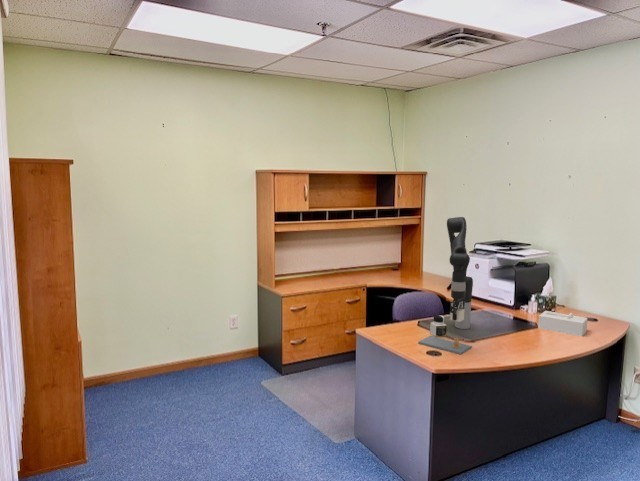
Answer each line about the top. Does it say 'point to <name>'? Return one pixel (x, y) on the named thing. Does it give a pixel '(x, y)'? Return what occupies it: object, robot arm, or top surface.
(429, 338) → the board
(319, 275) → the top surface
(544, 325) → the tissue box
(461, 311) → the beige cube block
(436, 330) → the medicine bottle
